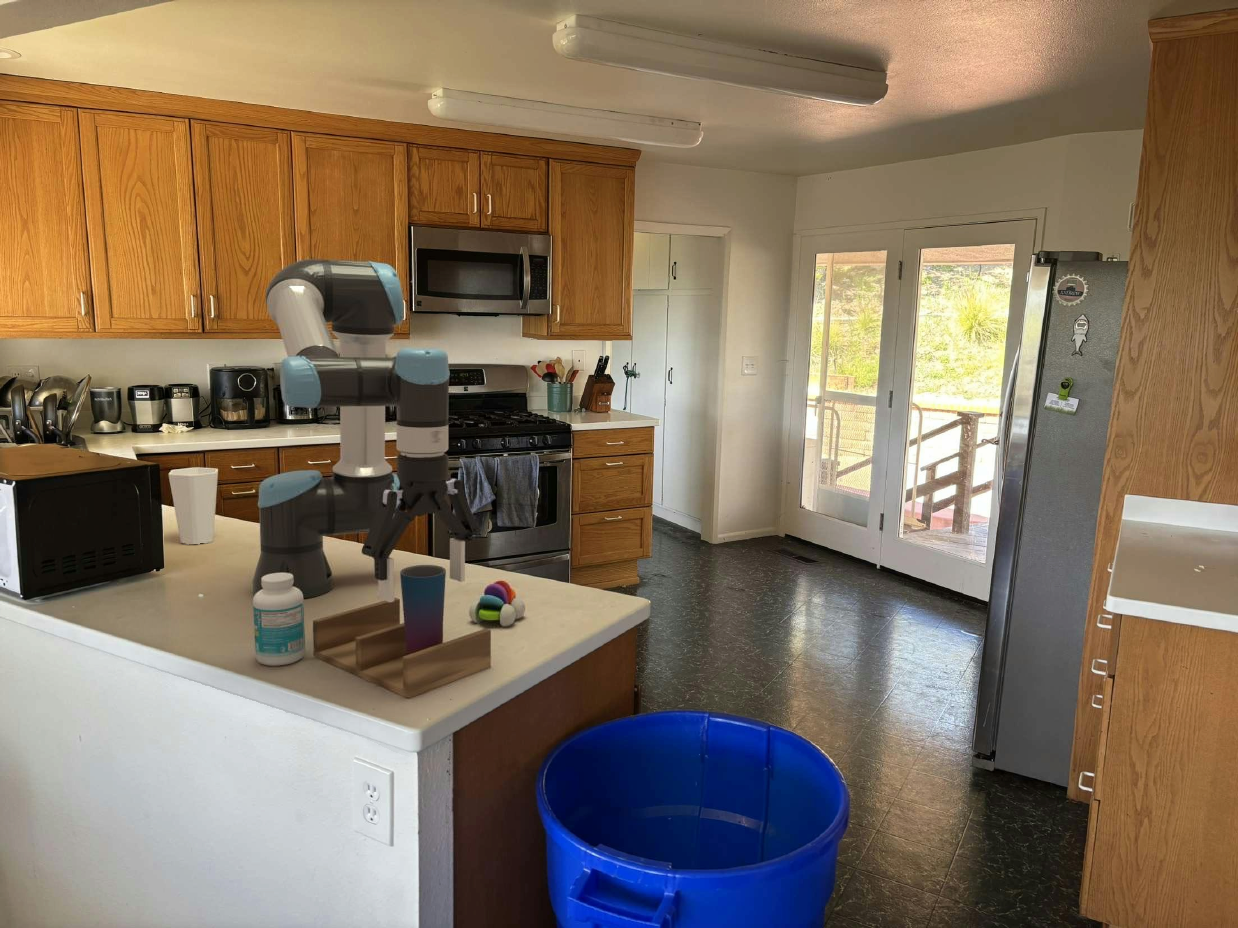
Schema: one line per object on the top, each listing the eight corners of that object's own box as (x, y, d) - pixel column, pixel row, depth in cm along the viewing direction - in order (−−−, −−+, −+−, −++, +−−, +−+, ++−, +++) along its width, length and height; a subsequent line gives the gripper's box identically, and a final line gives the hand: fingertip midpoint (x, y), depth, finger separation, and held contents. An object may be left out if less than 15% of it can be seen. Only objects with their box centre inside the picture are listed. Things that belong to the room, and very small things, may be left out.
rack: (313, 656, 139) (312, 620, 138) (395, 630, 151) (395, 597, 150) (408, 698, 124) (408, 658, 123) (490, 666, 137) (490, 630, 136)
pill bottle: (264, 649, 141) (260, 569, 139) (310, 649, 142) (308, 569, 140) (248, 667, 134) (245, 583, 132) (297, 667, 134) (295, 583, 132)
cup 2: (453, 658, 137) (452, 566, 134) (436, 674, 130) (435, 578, 128) (413, 654, 138) (411, 563, 136) (394, 670, 132) (392, 575, 129)
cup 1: (161, 544, 203) (157, 473, 201) (189, 535, 213) (186, 466, 211) (205, 548, 202) (201, 475, 199) (231, 537, 211) (228, 469, 209)
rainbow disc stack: (529, 615, 162) (530, 578, 160) (506, 632, 152) (506, 592, 151) (489, 609, 164) (489, 572, 163) (463, 625, 155) (463, 586, 154)
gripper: (367, 466, 117) (369, 615, 121) (501, 447, 136) (499, 576, 140) (334, 458, 122) (337, 602, 125) (469, 441, 141) (468, 567, 145)
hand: (423, 589), depth 133 cm, fingers open, 13 cm apart
